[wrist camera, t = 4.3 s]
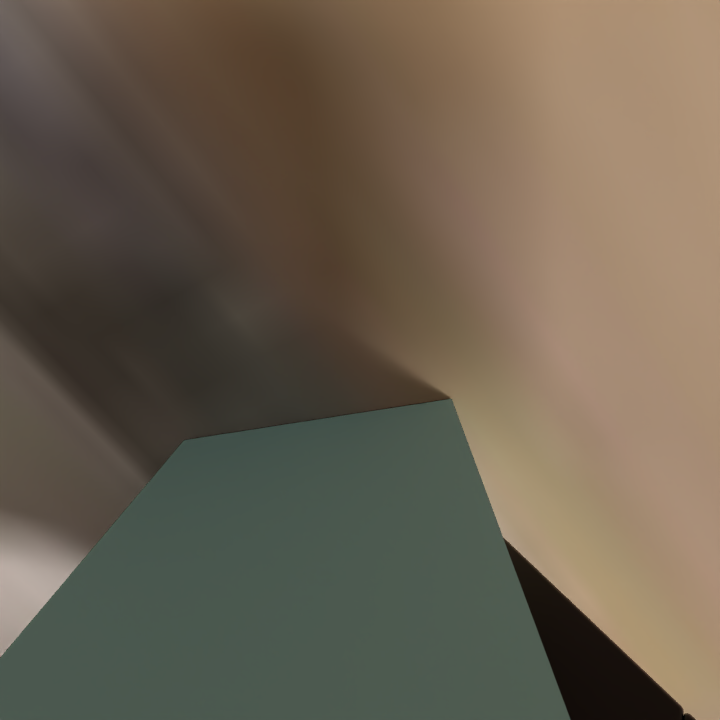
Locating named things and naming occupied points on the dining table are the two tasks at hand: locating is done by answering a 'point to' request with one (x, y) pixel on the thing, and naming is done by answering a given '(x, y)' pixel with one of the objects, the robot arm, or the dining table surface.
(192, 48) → the dining table surface
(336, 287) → the dining table surface
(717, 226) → the dining table surface
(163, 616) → the teal block
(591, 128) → the dining table surface
